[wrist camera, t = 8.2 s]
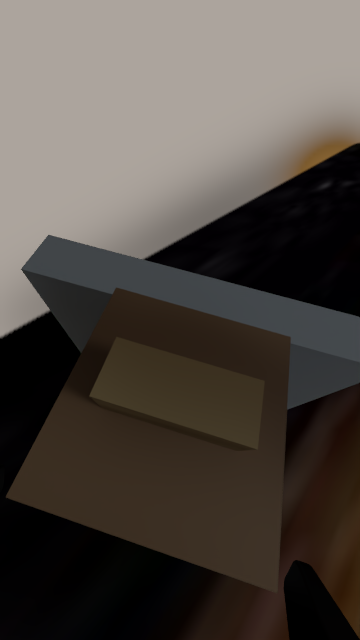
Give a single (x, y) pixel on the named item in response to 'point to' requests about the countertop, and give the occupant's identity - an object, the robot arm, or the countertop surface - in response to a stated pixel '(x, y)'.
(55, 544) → the countertop surface
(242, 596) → the countertop surface
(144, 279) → the grey stool
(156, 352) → the brown box with handle
